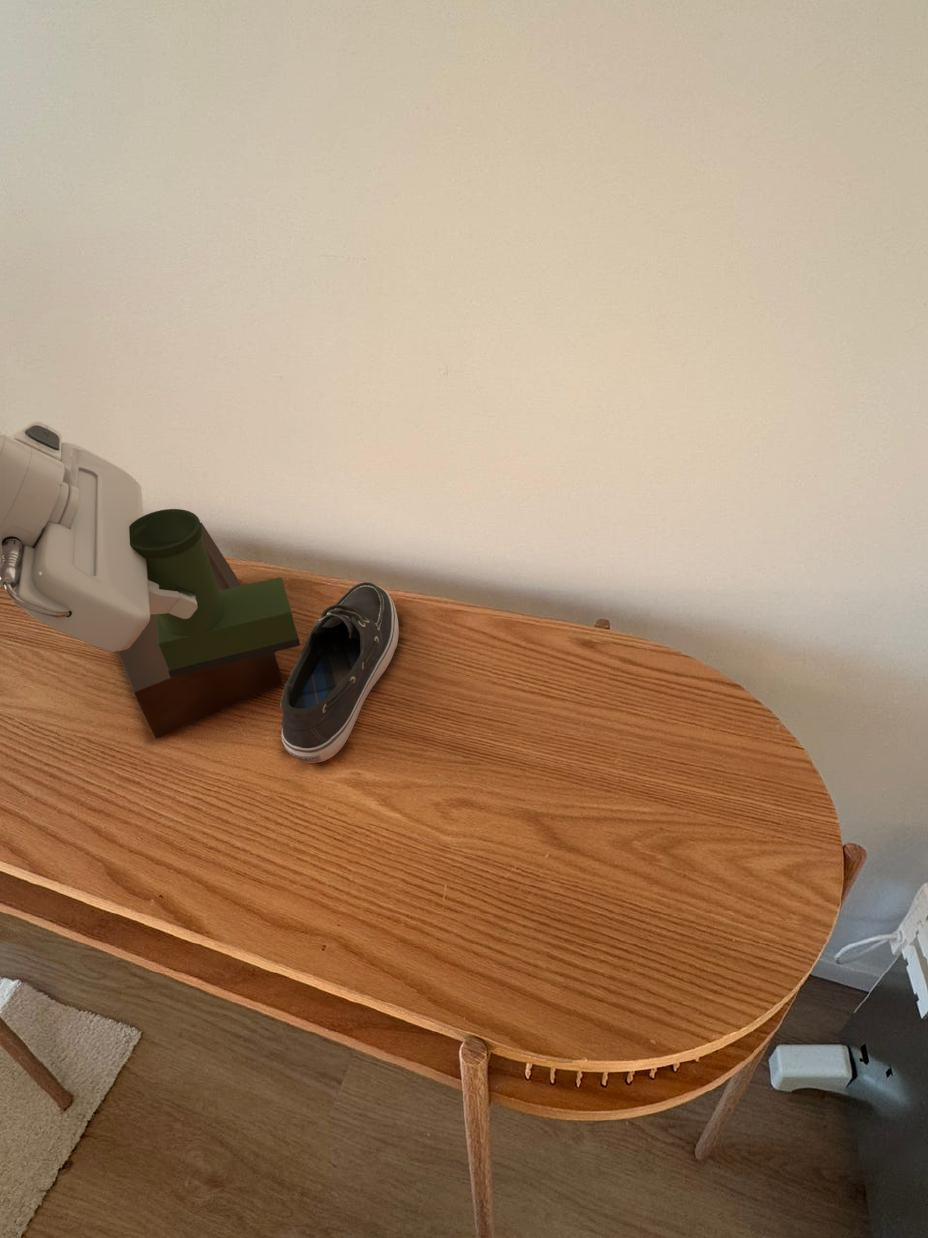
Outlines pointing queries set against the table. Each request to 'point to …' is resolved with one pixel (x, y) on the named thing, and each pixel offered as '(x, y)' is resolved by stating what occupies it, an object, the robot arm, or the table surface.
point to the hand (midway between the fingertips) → (189, 582)
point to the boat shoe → (337, 672)
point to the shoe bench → (196, 691)
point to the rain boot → (208, 599)
